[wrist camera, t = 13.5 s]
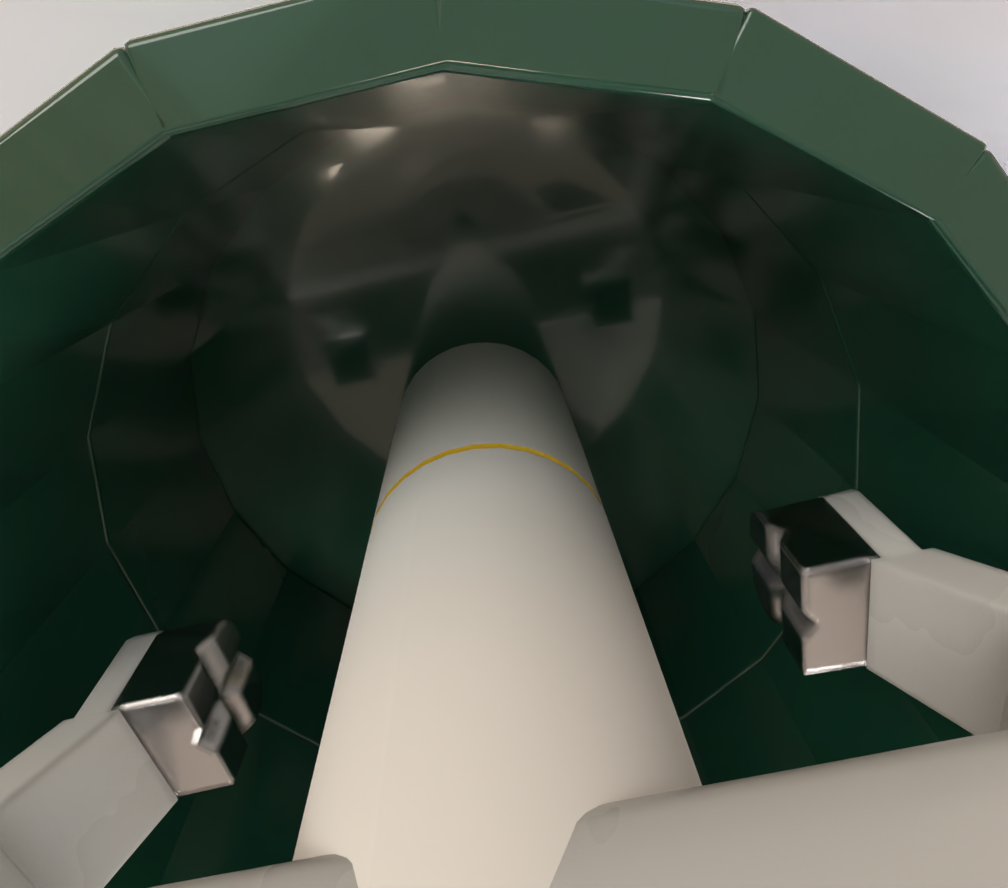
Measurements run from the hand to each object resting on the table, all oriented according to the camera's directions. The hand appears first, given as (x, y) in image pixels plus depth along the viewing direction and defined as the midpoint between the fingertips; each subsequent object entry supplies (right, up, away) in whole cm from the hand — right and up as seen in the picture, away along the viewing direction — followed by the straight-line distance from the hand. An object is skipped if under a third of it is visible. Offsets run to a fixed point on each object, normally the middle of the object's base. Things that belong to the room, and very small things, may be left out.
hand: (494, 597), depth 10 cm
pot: (0, +3, +7) cm, 8 cm away
